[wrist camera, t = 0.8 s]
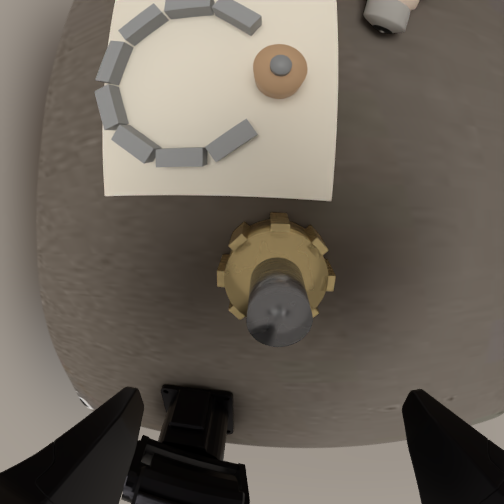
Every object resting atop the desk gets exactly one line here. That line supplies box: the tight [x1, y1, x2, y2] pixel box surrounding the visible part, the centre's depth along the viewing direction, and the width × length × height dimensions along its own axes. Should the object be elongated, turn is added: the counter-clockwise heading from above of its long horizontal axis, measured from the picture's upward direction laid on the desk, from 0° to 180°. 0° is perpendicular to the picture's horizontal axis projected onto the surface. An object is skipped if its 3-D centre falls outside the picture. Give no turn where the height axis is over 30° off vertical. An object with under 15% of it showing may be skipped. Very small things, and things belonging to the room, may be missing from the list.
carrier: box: [95, 0, 338, 201], centre depth 13 cm, size 14×14×4 cm
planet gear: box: [217, 212, 336, 347], centre depth 16 cm, size 7×7×7 cm
